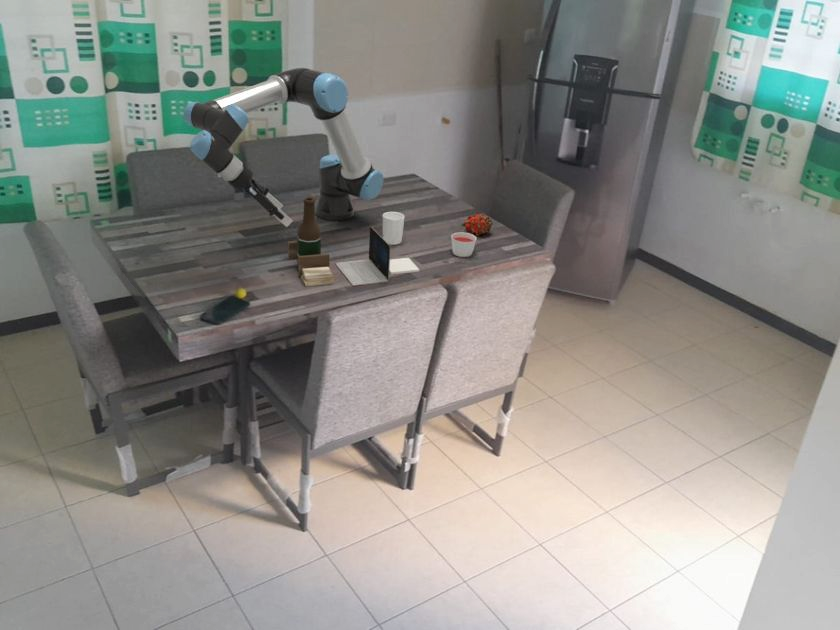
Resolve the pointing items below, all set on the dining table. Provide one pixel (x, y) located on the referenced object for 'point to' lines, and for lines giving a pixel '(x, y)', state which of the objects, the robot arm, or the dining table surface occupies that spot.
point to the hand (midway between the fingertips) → (284, 216)
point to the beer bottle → (308, 232)
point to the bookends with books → (312, 267)
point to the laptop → (369, 263)
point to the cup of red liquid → (463, 244)
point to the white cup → (393, 227)
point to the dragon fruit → (477, 224)
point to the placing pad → (402, 266)
